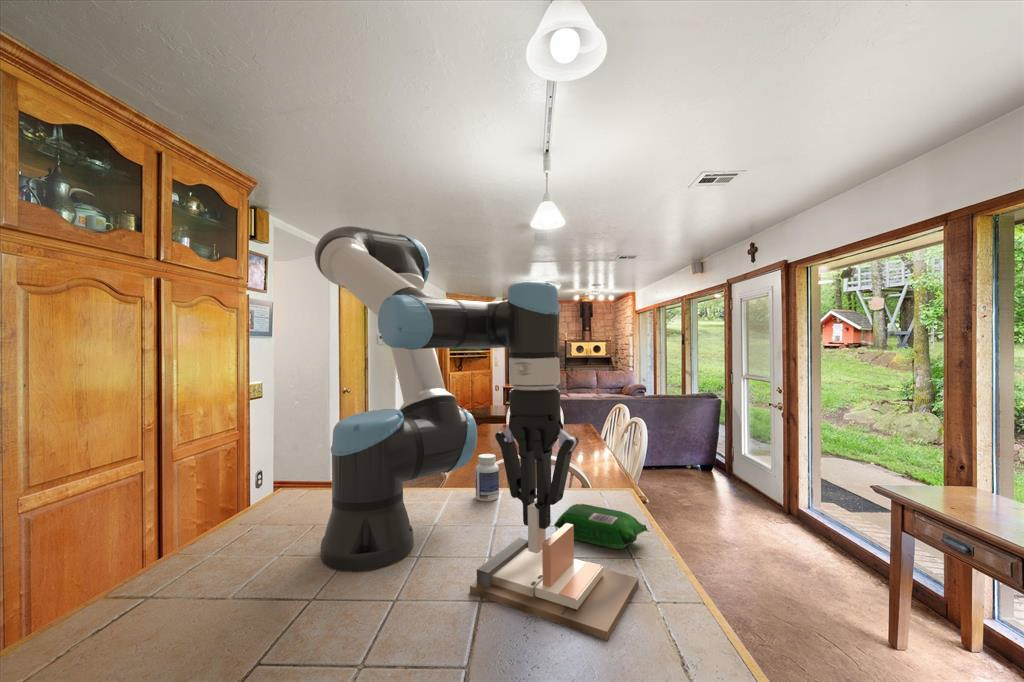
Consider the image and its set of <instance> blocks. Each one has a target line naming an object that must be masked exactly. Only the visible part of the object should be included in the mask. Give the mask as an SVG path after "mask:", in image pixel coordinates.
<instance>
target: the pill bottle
mask: <svg viewBox="0 0 1024 682" xmlns="http://www.w3.org/2000/svg"><path fill="white" fill-rule="evenodd" d="M477 459H478V461H477V462H478V464H477V465H476V466H475V468H474V469H475V498H476V500H478V501H481V502H492V501H495V500H496V501H497V500H498V499H499V497H500V489H499V488H500V486H499V485H500V482H499V481H500V469H499V468H500V467H499V465H498V464H497V463H496V459H497V457H496V455H495V454H493V453H483V454H479V455H478V457H477Z"/></svg>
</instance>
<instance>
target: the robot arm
mask: <svg viewBox="0 0 1024 682" xmlns="http://www.w3.org/2000/svg"><path fill="white" fill-rule="evenodd" d="M315 246H316V247H315V249H314V261H315V264H316V267H317V269H318V270H319V272H320V273H321V274H322V275H323V276H324V277H325V278H326V279H327V281H329V282H330V283H332V284H335V285H337V286H341V287H342V286H343V288H345V289H346V290H348V292H349V293H351V294H352V295H353V296H354V297H355V298H356V299H357V300H359V302H361V303H362V304H363V305H364V306H365V307H366V308H368V309H369V310H370V311H371V312H372V313H373V314H374V315H375V316H377V327H378V333H379V334H380V338H381V340H382V342H383V343H384V344H385V345H386V346H387V347H389V348H391V353H392V356H393V362H394V366H395V370H396V374H397V378H398V383H399V388H400V391H401V397H402V400H403V403H402V405H401V406H400V407H399V409H396V408H384V409H383V408H382V409H378V410H376V409H375V410H368V411H362V412H359V413H355V414H352V415H349V416H347V417H344V418H342V419H341V420H339V421H337V423H336V424H335V425H334V426H333V430H332V441H331V446H330V453H331V504H332V505H331V511H330V515H329V518H328V522H327V525H326V528H325V531H324V536H323V538H322V540H321V543H320V561H321V563H322V564H323V565H324V566H326V567H328V568H330V569H332V570H337V571H345V572H360V571H361V572H362V571H363V572H364V571H369V570H375V569H379V568H383V567H386V566H389V565H391V564H394V563H396V562H398V561H400V560H402V559H404V558H405V557H407V556H408V555H409V554H410V553H411V551H413V549H414V543H415V542H414V540H415V539H414V529H413V527H412V524H411V523H410V522H411V521H410V519H409V515H408V511H407V509H406V505H405V503H404V483H405V482H407V481H413V480H416V479H421V478H425V477H429V476H432V475H437V474H442V473H444V474H447V473H450V472H452V471H454V470H457V469H460V468H463V467H465V466H466V465H468V463H470V461H471V460H472V459H473V457H474V454H475V450H476V448H477V444H478V428H477V427H478V426H477V423H476V420H475V418H474V415H472V413H470V411H469V410H467V409H466V408H461V407H459V405H458V401H457V397H456V396H455V394H452V393H450V392H449V391H447V389H446V385H445V381H444V378H443V375H442V371H441V367H440V364H439V360H438V356H437V352H436V349H474V350H488V349H501V348H503V349H504V348H508V368H509V369H508V371H509V372H508V375H509V377H508V379H509V384H510V386H513V388H511V389H510V391H509V392H508V393H509V394H508V395H509V412H510V419H509V422H508V427H506V428H505V429H503V430H502V431H499V432H496V433H495V434H494V436H495V440H496V441H497V443H498V446H499V447H500V450H501V451H500V452H501V454H502V460H503V464H504V469H505V472H506V473H505V474H506V478H507V483H508V489H509V493H510V496H511V497H512V498H513V499H518V500H520V501H521V503H522V522H523V525H524V526H527V540H528V551H529V552H533V553H539V552H540V551H541V552H542V543H543V542H544V541H546V540H547V539H546V538H547V537H546V536H547V535H546V534H547V533H546V530H547V528H549V527H550V525H551V523H552V522H551V521H552V519H551V515H552V514H551V505H552V506H554V505H555V504H557V503H558V502H559V501H561V500H563V497H564V494H565V488H566V483H567V479H568V474H569V470H570V464H571V459H572V457H573V456H572V455H573V452H574V450H575V449H576V447H577V446H578V444H579V442H580V441H579V438H578V437H577V436H572V435H570V434H569V433H568V432H566V431H565V430H564V425H563V423H562V421H561V411H562V410H561V408H562V407H561V406H562V405H561V390H559V388H557V386H559V385H560V384H561V368H560V365H561V363H560V314H561V311H560V304H559V294H558V293H559V292H558V288H557V286H556V285H555V284H554V283H551V282H547V281H540V280H539V281H538V280H535V281H534V280H532V281H527V280H526V281H519V282H514V283H513V284H510V285H509V286H508V289H507V296H506V300H501V301H500V300H499V301H491V302H490V301H474V300H461V299H453V298H451V299H450V298H441V297H439V298H438V297H433V296H431V295H429V294H427V293H426V292H424V291H423V289H424V287H425V284H426V283H427V281H428V278H429V274H430V269H429V267H430V258H429V254H428V251H427V250H426V249H427V248H426V247H425V246H424V244H423V243H422V242H421V241H419V240H418V239H416V238H414V237H411V236H407V235H405V234H401V233H400V234H393V233H389V232H383V231H378V230H375V229H369V228H363V227H358V226H350V225H348V226H340V227H337V228H334V229H331V230H330V231H328V232H326V233H325V234H324V235H323V236H322V237H321V238H320V239H319V241H318V243H317V244H316V245H315ZM515 441H516V442H515ZM557 441H558V443H557ZM516 443H517V444H516ZM556 443H557V444H558V445H557V446H558V448H559V450H558V451H557V454H556V460H555V463H554V467H553V468H554V469H553V474H552V456H553V447H554V445H555V444H556ZM517 445H518V447H517ZM535 499H536V500H535Z"/></svg>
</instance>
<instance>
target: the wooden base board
mask: <svg viewBox="0 0 1024 682" xmlns="http://www.w3.org/2000/svg"><path fill="white" fill-rule="evenodd" d="M542 580H543V569H542V550H541V551H540V552H539V553H533V552H529V551H528V539H525V538H521V537H518V538H517V539H515V540H514V541H513V542H511V543H510V544H508V545H507V546H506V547H504V548H503V549H502V550H500V551H499V552H498V553H497V554H495V555H494V556H492V557H491V558H490V559H488V560H487V561H486V562H484V563H483V564H482V565H481V566H479V567H478V568H477V569H476V580H475V581H474V582H473V583H471V584H470V585H469V593H470V594H471V595H475V596H478V597H480V598H484V599H486V600H489V601H492V602H495V603H498V604H500V605H503V606H506V607H508V608H512V609H515V610H518V611H520V612H523V613H527V614H529V615H533V616H535V617H538V618H542V619H544V620H547V621H551V622H552V623H555V624H559V625H562V626H565V627H567V628H571V629H574V630H576V631H579V632H582V633H584V634H588V635H590V636H594V637H596V638H600V639H602V640H605V641H608V640H609V638H610V637H611V634H612V633H613V631H614V629H615V627H616V625H617V624H618V622H619V620H620V618H621V616H622V615H623V613H624V612H625V610H626V608H627V607H628V605H629V603H630V602H631V599H632V597H634V594H635V592H636V590H637V588H638V586H639V584H640V583H639V577H636V576H633V575H629V574H628V575H627V574H625V573H621V572H617V571H614V570H609V569H605V568H603V576H602V577H601V578H600V580H599V581H598V582H597V584H596V585H595V586H594V588H593V589H592V590H591V592H590V593H589V594H588V596H587V597H586V598H585V600H584V601H583V603H582V604H581V605H580V607H579V608H578V609H573V608H570V607H567V606H564V605H561V604H558V603H555V602H552V601H548V600H545V599H542V598H539V597H536V596H535V587H536V586H537V585H538V584H539V583H540V582H541V581H542Z"/></svg>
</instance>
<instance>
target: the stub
mask: <svg viewBox="0 0 1024 682" xmlns="http://www.w3.org/2000/svg"><path fill="white" fill-rule="evenodd" d="M574 540H575V539H574V525H573V524H569V523H566V524H564V525H563V526H562V527H561V528H560V529H559V528H558V529H557V530H556V531H555V532H553V534H551V535H550V536H549V537H548V538H547V539H546V541H544V542H543V543H542V550H541V552H542V569H543V580H542V581H541V582H540V583H539V584H538V585H537V586H536V587H535V596H536V597H539V598H542V599H545V600H548V601H552V602H555V603H558V604H561V605H564V606H567V607H570V608H573V609H578V608H579V607H580V605H581V604H582V603H583V601H584V600H585V598H586V597H587V596H588V594H589V593H590V592H591V590H592V589H593V588H594V586H595V585H596V584H597V582H598V581H599V580H600V578H601V577H602V576H603V569H604V566H603V565H602V564H598V563H594V562H591V561H584V560H580V559H576V558H575V541H574Z"/></svg>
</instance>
